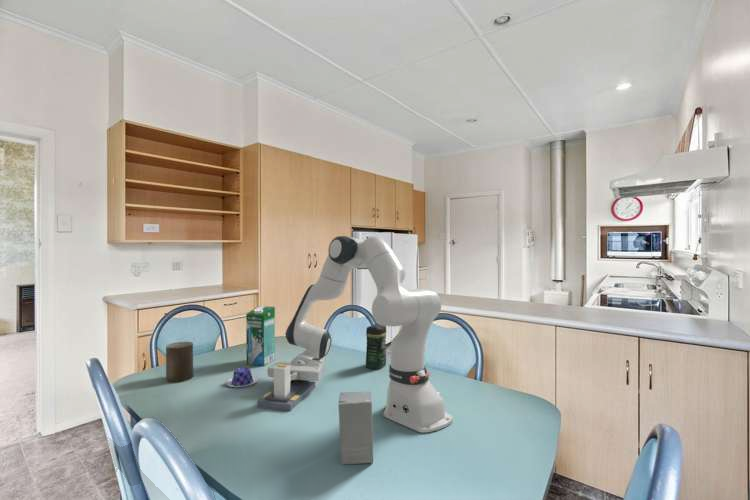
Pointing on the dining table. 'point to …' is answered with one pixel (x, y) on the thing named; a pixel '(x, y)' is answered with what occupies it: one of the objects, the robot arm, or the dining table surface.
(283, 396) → the white rectangular block
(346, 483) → the dining table surface
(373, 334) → the coffee jar
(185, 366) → the pillar candle
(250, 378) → the pudding
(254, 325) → the milk carton
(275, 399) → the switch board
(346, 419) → the skincare box
